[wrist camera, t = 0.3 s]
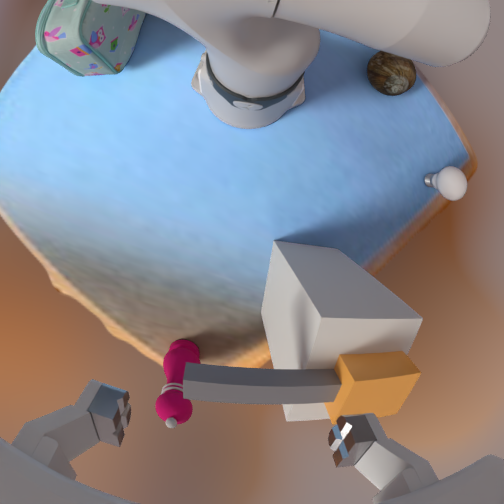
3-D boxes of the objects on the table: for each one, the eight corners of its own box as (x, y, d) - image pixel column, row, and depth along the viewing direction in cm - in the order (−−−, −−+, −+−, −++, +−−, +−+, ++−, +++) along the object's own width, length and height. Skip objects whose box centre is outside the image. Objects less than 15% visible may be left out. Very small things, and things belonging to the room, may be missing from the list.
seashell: (365, 97, 41) (387, 87, 33) (355, 54, 38) (374, 38, 30) (411, 102, 41) (435, 95, 34) (402, 61, 38) (424, 50, 31)
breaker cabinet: (273, 240, 47) (321, 317, 22) (341, 249, 49) (428, 318, 24) (260, 312, 51) (286, 421, 26) (324, 316, 52) (381, 411, 28)
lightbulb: (421, 158, 45) (458, 160, 34) (440, 174, 46) (476, 178, 35) (412, 186, 46) (448, 192, 36) (431, 200, 47) (467, 209, 37)
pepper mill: (204, 341, 52) (197, 418, 33) (199, 367, 54) (192, 442, 35) (168, 333, 51) (147, 407, 32) (166, 360, 53) (147, 433, 34)
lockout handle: (186, 346, 22) (180, 377, 18) (402, 350, 25) (421, 372, 21) (185, 393, 24) (181, 423, 20) (382, 391, 26) (396, 413, 22)
